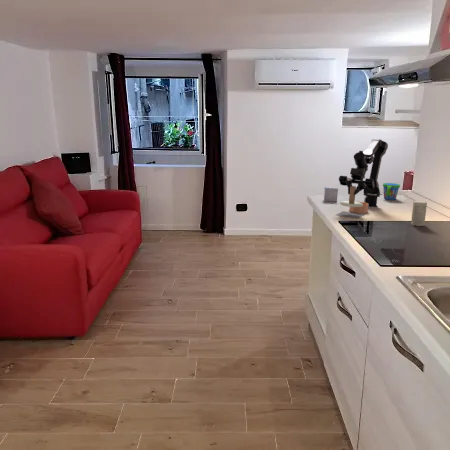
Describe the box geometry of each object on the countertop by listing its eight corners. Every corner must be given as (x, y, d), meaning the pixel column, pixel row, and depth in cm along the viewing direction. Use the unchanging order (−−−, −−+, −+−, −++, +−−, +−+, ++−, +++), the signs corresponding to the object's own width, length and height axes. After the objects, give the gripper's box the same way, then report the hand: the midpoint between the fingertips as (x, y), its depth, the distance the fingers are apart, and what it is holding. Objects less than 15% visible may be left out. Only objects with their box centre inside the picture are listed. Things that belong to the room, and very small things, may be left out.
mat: (343, 212, 249) (343, 211, 249) (365, 215, 242) (365, 214, 242) (335, 216, 239) (335, 215, 239) (357, 219, 232) (357, 218, 232)
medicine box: (336, 200, 282) (337, 187, 280) (337, 201, 278) (338, 188, 276) (323, 200, 283) (324, 186, 281) (324, 201, 278) (325, 188, 276)
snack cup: (385, 196, 300) (387, 181, 297) (401, 198, 294) (403, 183, 291) (377, 199, 288) (379, 184, 285) (393, 202, 282) (395, 186, 279)
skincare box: (423, 224, 226) (426, 201, 223) (424, 226, 222) (427, 203, 219) (410, 223, 228) (413, 200, 225) (410, 225, 224) (413, 201, 221)
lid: (359, 202, 245) (361, 185, 242) (365, 207, 233) (367, 188, 231) (337, 202, 245) (339, 184, 242) (343, 206, 233) (344, 188, 231)
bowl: (364, 210, 256) (365, 201, 255) (369, 214, 246) (370, 205, 245) (347, 209, 256) (348, 201, 255) (352, 213, 246) (352, 204, 245)
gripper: (341, 160, 242) (331, 183, 236) (375, 164, 231) (366, 187, 225) (345, 173, 250) (336, 195, 244) (378, 177, 240) (369, 199, 234)
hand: (351, 194), depth 237 cm, fingers closed on lid, 3 cm apart
